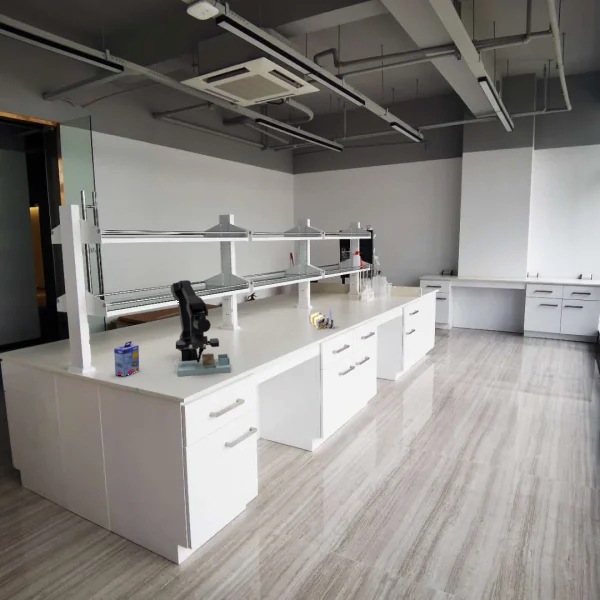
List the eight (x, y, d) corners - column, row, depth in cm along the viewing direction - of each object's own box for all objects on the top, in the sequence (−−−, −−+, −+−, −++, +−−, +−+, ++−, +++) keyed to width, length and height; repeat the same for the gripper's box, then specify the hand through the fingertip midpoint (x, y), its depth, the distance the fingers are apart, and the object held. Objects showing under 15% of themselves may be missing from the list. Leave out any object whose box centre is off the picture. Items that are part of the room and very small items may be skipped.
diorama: (333, 329, 290) (333, 309, 288) (318, 330, 288) (318, 310, 286) (323, 322, 314) (323, 303, 313) (308, 323, 312) (308, 304, 310)
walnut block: (202, 365, 201) (202, 357, 200) (202, 362, 206) (202, 354, 205) (214, 365, 202) (213, 356, 202) (213, 362, 207) (213, 353, 206)
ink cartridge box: (124, 377, 194) (122, 344, 192) (114, 376, 196) (112, 343, 194) (140, 371, 203) (138, 339, 201) (130, 369, 205) (128, 338, 203)
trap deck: (177, 376, 194) (177, 364, 193) (178, 366, 208) (178, 355, 208) (230, 372, 199) (230, 360, 198) (227, 363, 214) (227, 352, 213)
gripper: (174, 333, 191) (176, 368, 193) (219, 330, 195) (220, 365, 197) (175, 327, 202) (177, 361, 204) (218, 325, 206) (219, 359, 208)
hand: (198, 362), depth 203 cm, fingers closed
